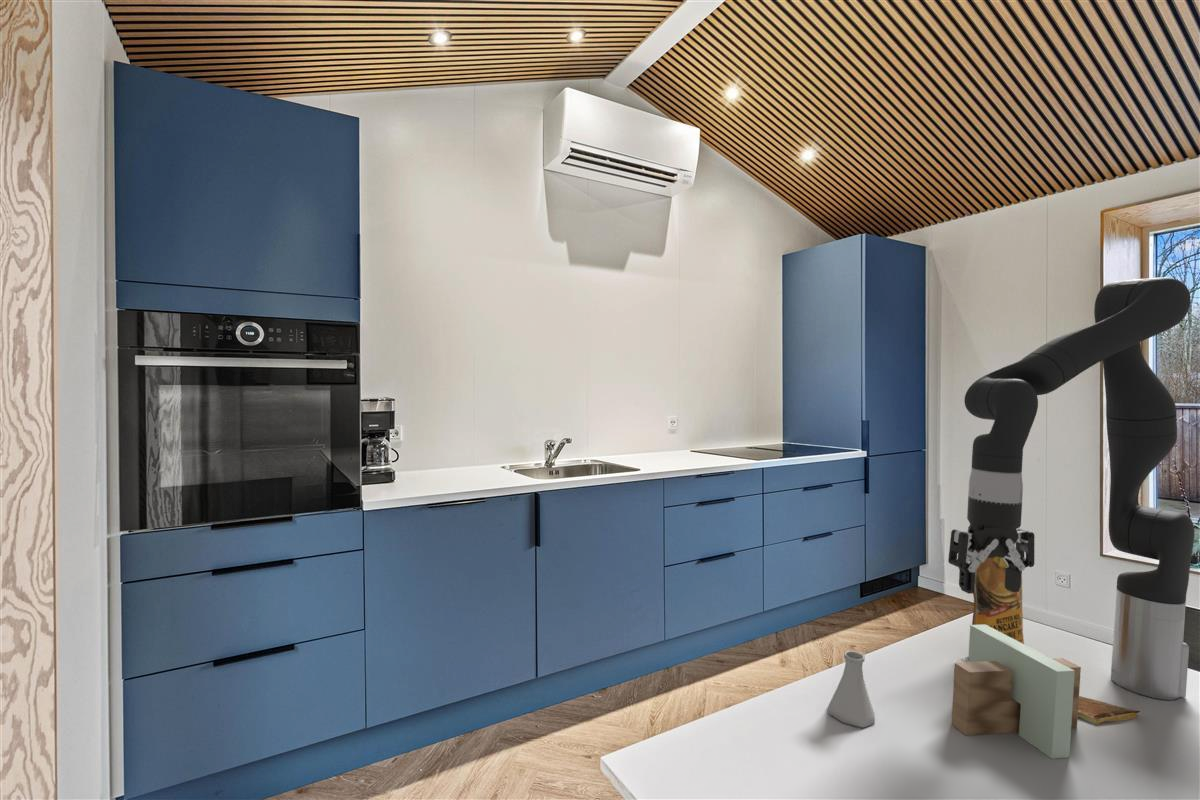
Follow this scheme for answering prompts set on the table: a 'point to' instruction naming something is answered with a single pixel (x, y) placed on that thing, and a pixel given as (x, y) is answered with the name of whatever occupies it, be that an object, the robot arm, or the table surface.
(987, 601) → the pancake mix bag
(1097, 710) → the shard
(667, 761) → the table surface
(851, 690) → the flask
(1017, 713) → the walnut board
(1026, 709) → the sage board
